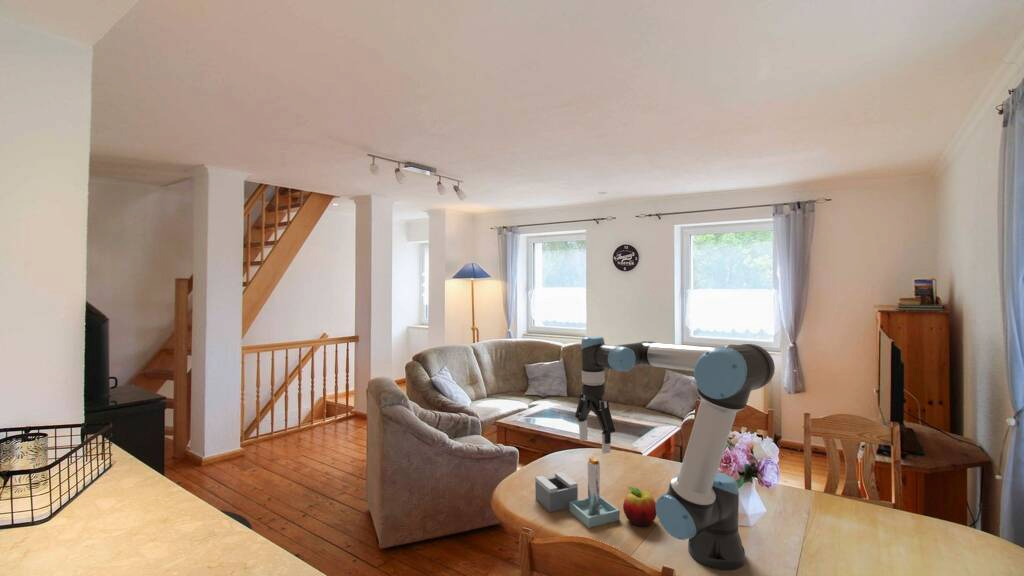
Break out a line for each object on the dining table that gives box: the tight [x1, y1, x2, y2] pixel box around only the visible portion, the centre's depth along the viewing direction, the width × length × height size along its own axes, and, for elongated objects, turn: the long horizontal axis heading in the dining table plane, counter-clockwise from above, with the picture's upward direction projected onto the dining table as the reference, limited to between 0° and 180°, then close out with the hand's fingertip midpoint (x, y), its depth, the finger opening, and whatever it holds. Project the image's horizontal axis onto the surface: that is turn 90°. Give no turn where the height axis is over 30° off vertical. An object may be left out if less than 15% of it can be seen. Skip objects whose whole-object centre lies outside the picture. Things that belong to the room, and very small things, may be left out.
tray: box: [568, 495, 621, 529], centre depth 162 cm, size 12×12×3 cm
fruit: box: [622, 486, 657, 527], centre depth 157 cm, size 11×11×10 cm
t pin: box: [585, 456, 602, 516], centre depth 161 cm, size 7×4×18 cm, turn 24°
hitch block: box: [534, 471, 579, 513], centre depth 171 cm, size 11×11×8 cm
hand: (594, 446), depth 161 cm, fingers open, 13 cm apart
